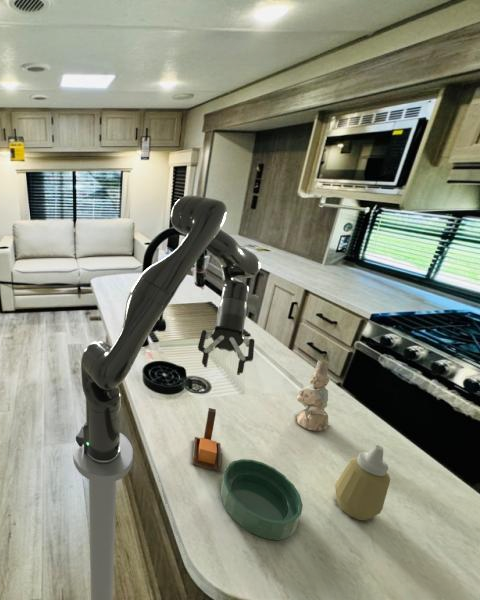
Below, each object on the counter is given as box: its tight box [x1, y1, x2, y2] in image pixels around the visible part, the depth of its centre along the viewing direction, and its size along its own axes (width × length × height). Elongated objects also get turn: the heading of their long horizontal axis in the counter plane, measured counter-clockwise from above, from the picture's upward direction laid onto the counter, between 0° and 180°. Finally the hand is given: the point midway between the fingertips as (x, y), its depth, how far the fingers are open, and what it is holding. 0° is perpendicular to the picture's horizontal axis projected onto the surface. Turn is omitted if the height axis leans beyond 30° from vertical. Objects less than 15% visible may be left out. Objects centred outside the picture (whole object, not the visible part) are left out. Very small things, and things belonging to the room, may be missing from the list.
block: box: [198, 437, 218, 464], centre depth 82 cm, size 4×4×4 cm
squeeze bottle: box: [334, 445, 391, 521], centre depth 67 cm, size 8×8×18 cm
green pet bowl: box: [220, 458, 303, 541], centre depth 70 cm, size 15×15×6 cm
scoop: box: [192, 407, 222, 473], centre depth 82 cm, size 9×7×12 cm
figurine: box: [296, 360, 331, 431], centre depth 90 cm, size 9×8×20 cm
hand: (221, 370), depth 87 cm, fingers open, 8 cm apart
